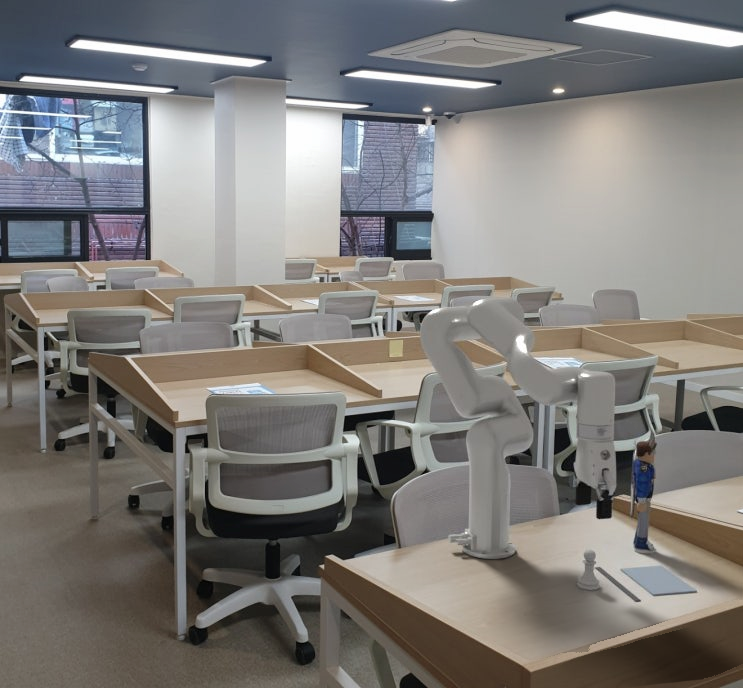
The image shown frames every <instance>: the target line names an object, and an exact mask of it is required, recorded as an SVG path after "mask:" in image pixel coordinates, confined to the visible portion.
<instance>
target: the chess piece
mask: <svg viewBox="0 0 743 688" xmlns="http://www.w3.org/2000/svg"><path fill="white" fill-rule="evenodd" d="M596 556H597V554H596V552H595V551H594V550H592V549H586V550H585V551H584V552H583V558H584V559H583V560H582V563H583V564H584V572H583V573H582V575H581V576H580V577H578V579H577V581H578V582H577V586H578V587H579V588H580V589H581V590H586V591H596V590H599V588H600V587H601V584H600V580H599V579H598V578H597V577H596V575H595V573H594V569H595V565H596V564H597V561H596V560H595V559H596V558H597V557H596Z"/></svg>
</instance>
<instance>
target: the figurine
mask: <svg viewBox="0 0 743 688" xmlns="http://www.w3.org/2000/svg"><path fill="white" fill-rule="evenodd" d="M649 430H650V433H649V434H650V436H649V438H648V439H647V440H646V441H645V440H643V441H638V442H637V437H635V438H634V442H633V454H632V467H631V468H632V469H631V480H630V481H631V484H630V505H631V506H630V519H631V520H632V519H633V517H634V515H635V514H634V513H635V505H636V510H637V521H636V522H637V525H636V527H635V533H634V534H635V535H634V538H633V544H632V545H633V546H632V548H633V551H634V552H635V553H638V554H654V553H655V549H656V548H655V546H654V543H653V542H651V541H649V539H648V538H649V537H648V536H649V527H650V519H651V517H650V516H651V504H652V503H651V501H652V498H653V494H654V489H655V487H654V486H655V479H657V478H656V477H657V476H656V475H657V468H656V464H655V454H657V451H656V447H657V445H658V443H657V442H656V437H655V433H654V431H653V429H652V427H651V426H649ZM635 454H636V459H635Z"/></svg>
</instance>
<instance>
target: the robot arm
mask: <svg viewBox="0 0 743 688" xmlns="http://www.w3.org/2000/svg"><path fill="white" fill-rule="evenodd" d="M524 311H525V310H524V309H523V307H522V305H521V304H520V303H519V302H518V301H517V300H515V299H513V298H511V297H503V296H502V297H490V298H483V299H479V300H477V301H475V302H473V304H471V305H459V306H445V307H439V308H435V309H433V310H431V311H430V312H428V313H427V314H426V315H425V316H424V318H423V319H422V321H421V324H420V329H419V340H420V344H421V348H422V350H423V352H424V354H425V356H426V358H427V359H428V361H429V362H430V364H431V365H432V367H433V369H434V370H435V371H436V373H437V375H438V377H439V379H440V382H441V384H442V386H443V388H444V389H445V392H446V394H447V396H448V397H449V400H450V401H451V404H452V405H453V407H454V408H455V411H456V413H458V415H459V416H460V417H462V418H464V419H475V418H481V417H487V416H489V417H487V418H483V419H480V420H478V421H475V422H474V423H473V424H472V425H471V426H470V427H469V428H468V430H467V432H466V436H465V445H466V451H467V457H468V464H469V478H468V479H469V491H468V492H469V495H468V497H469V499H468V500H469V501H468V503H469V505H468V528H464V532H461V533H459V534H456V533H455V534H448V536H447V538H448V539H447V540H448V544H451V543H452V544H453V543H456V545H457V546H461V550H462V551H463V553H465V554H467V555H468V556H471V557H475V558H478V559H485V560H486V559H487V560H499V559H505V558H509V557H511V556H512V555H515V552H516V545H515V544H514V543H513V542H512V541H510V518H511V517H510V514H511V513H510V512H511V511H510V509H511V508H510V507H511V473H510V470H509V467H508V464H507V461H506V459H505V458H506V457H509V456H512V455H517V454H520V453H523V452H525V451H527V450H528V449H529V448H530V447H531V446H532V444H533V442H534V428H533V426H532V422H531V421H530V419H529V417H528V415H527V413H526V411H525V409H524V407H523V405H522V404H521V401H520V400H519V398H518V397H517V394H516V392H515V391H514V389H513V387H512V386H511V385H510V383H509V382H508V381H507V380H505V379H504V377H501V376H499V375H493V374H491V375H490V374H489V375H482V376H481V375H480V374H479V373H478V372H477V370H476V369H475V367H474V365H473V363H472V361H471V359H470V358H469V356H468V355H467V354H466V353H465V352H464V351H463V350H462V349H461V348H459V347H458V345H456V344H455V343H456V342H463V341H464V342H465V341H474V340H481V339H483V340H484V341H485V342H486V343H487V344H488V345H490V347H492V348H493V349H494V350H495V351H496V352H498V354H499V355H501V356H502V357H503V358H504V359H505V360H506V363H507V368H508V371H509V374H510V376H511V378H512V381H514V383H515V384H516V385H517V386H518V387H519V388H520V389H521V390H522V391H523V392H524V393H525V394H526V395H528V397H530V398H531V399H532V400H534V401H535V402H537V403H538V404H541V405H544V406H550V407H551V406H556V405H557V406H558V405H562V404H566V403H567V404H569V403H573V402H577V403H576V406H577V408H576V439H577V443H576V453H575V461H574V462H573V469H574V474H573V476H574V478H575V481H574V485H575V505H576V506H586V505H590V504H591V491H592V489H591V488H593V489H595V491H596V495H597V497H598V498H597V499H596V512H595V513H596V515H595V517H596V519H597V520H608V519H612V518H613V517H612V516H613V501H614V499H615V498H614V497H615V494H616V488H617V460H616V459H617V458H616V456H617V455H616V450H615V447H616V446H615V442H614V439H615V407H616V406H615V402H616V379H615V376H614V375H613V374H612V373H610V372H607V371H600V370H599V371H598V370H589V369H586V368H583V367H579V366H575V365H574V366H564V367H557V368H556V367H555V368H551V369H550V368H549V369H547V368H546V367H545V366H544V365H543V364H541V363H540V362H539V361H538V360H537V359H535V357H533V355H532V353H531V351H532V349H533V348H534V346H535V342H536V335H535V333H534V332H533V330H531V329H530V328H529V327H528V326H527V325H525V324H524V322H525V312H524ZM602 490H604V491H603V492H602Z"/></svg>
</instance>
